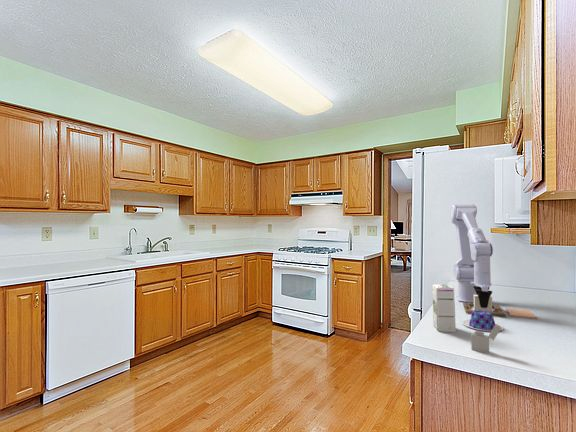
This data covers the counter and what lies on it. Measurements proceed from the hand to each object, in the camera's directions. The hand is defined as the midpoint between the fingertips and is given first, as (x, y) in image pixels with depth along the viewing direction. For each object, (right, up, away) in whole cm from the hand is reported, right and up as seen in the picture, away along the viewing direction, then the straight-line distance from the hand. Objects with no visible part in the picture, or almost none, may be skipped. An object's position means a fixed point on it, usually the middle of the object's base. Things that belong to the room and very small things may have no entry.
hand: (482, 305), depth 127 cm
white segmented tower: (-26, -2, -21) cm, 34 cm away
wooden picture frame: (0, -2, 0) cm, 2 cm away
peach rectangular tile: (+11, -2, -5) cm, 13 cm away
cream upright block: (0, -2, 0) cm, 2 cm away
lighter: (-24, -2, -40) cm, 46 cm away
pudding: (-12, -2, -19) cm, 22 cm away
